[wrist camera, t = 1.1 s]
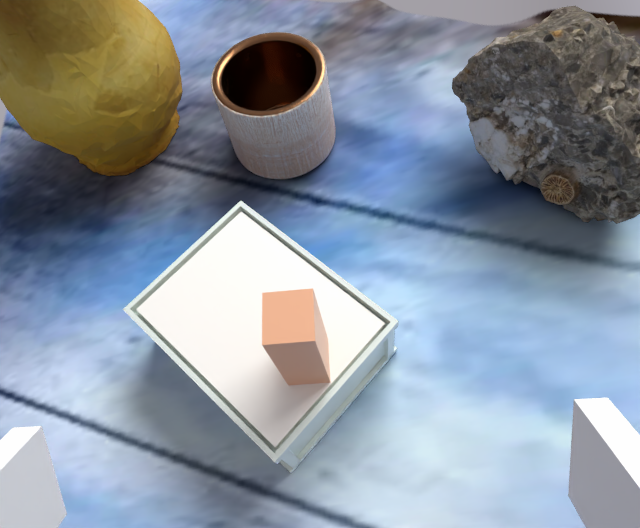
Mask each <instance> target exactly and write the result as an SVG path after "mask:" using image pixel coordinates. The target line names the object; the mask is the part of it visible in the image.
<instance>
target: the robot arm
mask: <svg viewBox="0 0 640 528" xmlns="http://www.w3.org/2000/svg"><path fill="white" fill-rule="evenodd" d="M568 496H569V498H570V500H571V501H572V503H573V505H574V507H575V509H576V511H577V512H578V514H579V516H580V518H581V520H582V521H583V523H584V525H585V527H586V528H640V435H639V434H638V432H637V431H636V430H635V429H634V428H633V427H632V426H631V424H630V423H629V422H628V421H627V420H626V419H625V417H624V416H623V415H622V414H621V413H620V412H619V410H618V409H617V408H616V407H615V406H614V405H613V403H612V402H611V401H610V400H609V399H608V398H593V399H574V407H573V424H572V441H571V458H570V476H569V493H568ZM66 515H67V513H66V509H65V506H64V502H63V499H62V495H61V492H60V488H59V485H58V481H57V478H56V474H55V471H54V467H53V464H52V460H51V457H50V453H49V450H48V446H47V443H46V439H45V436H44V432H43V429H42V426H35V427H15V428H12V429H11V430H10V431H9V432H8V433H7V434H6V435H5V436H4V437H3V438H2V439H1V440H0V528H58V527H59V525H60V524H61V522H62V521H63V519H64V518H65V516H66Z"/></svg>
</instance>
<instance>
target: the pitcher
mask: <svg viewBox="0 0 640 528" xmlns="http://www.w3.org/2000/svg"><path fill="white" fill-rule="evenodd" d="M181 96H182V83H181V76H180V62H179V59H178V57H177V54H176V51H175V48H174V45H173V43H172V40H171V38H170V35H169V33H168V32H167V30H166V28H165V27H164V26H163V24H162V23H161V22H160V21H159V20H158V19H157V18H156V17H155V15H154V14H153V13H152V12H151V11H150V10H149V9H148V8H147V7H145V6H144V5H143V4H142V3H141V2H139V1H138V0H0V98H1V100H2V101H3V103H4V105H5V106H6V108H7V110H8V111H9V112H10V113H11V114H12V115H13V116H14V118H15V119H16V120H17V122H18V123H19V124H20V126H21V127H22V128H23V129H24V130H25V131H26V132H27V133H28V134H29V135H30V137H31V138H32V139H33V140H36V141H40V142H43V143H45V144H48V145H50V146H53V147H55V148H57V149H59V150H61V151H62V152H64V153H67V154H71V155H74V156H75V157H77V158H78V159H79V163H83V164H84V165H86V166H87V168H89V169H91V170H92V171H93V172H97V173H98V174H102V175H106V176H111V175H113V176H118V175H120V176H122V175H128V174H129V173H132V172H134V171H135V170H136V169H139V168H140V167H142V166H145V165H146V164H148V163H150V161H152V160H153V159H154V158H156V157H157V156H158V155H159V153H162V152H163V151H164V150H166V148H167V146H168V144H169V143H170V141H171V138H172V137H173V135H174V134H175V133H176V129H177V128H178V127H179V126H178V123H179V122H178V121H179V119H180V118H179V117H180V116H178V113H177V110H176V109H177V106H178V103H179V101H180V100H181Z"/></svg>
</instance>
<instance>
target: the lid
mask: <svg viewBox="0 0 640 528" xmlns="http://www.w3.org/2000/svg"><path fill="white" fill-rule="evenodd" d="M136 310H137V311H138V312H139V313H140V314H141V315H142V316H143V317H144V318H145V319H146V320H147V321H148V322H149V323H150V324H151V325H152V326H153V327H154V328H155V329H156V330H157V331H158V332H159V333H161V334H162V335H163V336H164V337H165V338H166V339H167V340H168V341H169V342H170V343H171V344H172V345H173V346H174V347H175V348H176V349H177V350H178V351H179V352H180V353H181V354H182V355H183V356H184V357H185V358H186V359H187V360H188V361H189V362H190V363H191V364H192V365H193V366H194V367H195V368H196V369H197V370H198V371H199V372H200V373H201V374H202V375H203V376H204V377H205V378H206V379H207V380H208V381H209V382H210V383H211V384H212V385H213V386H214V387H215V388H216V389H217V390H218V391H219V392H220V393H221V394H222V395H223V396H224V397H225V398H226V399H227V400H228V401H229V402H230V403H231V404H232V405H233V406H234V407H235V408H236V409H237V410H238V411H239V412H240V413H241V414H242V415H243V416H244V417H245V418H246V419H247V420H248V421H249V422H250V423H251V424H252V425H253V426H254V427H255V428H256V429H257V430H258V431H259V432H260V433H261V434H262V435H263V436H264V437H265V438H266V439H267V440H268V441H269V442H270V443H271V444H272V445H273V446H274V447H275V448H277V449H278V448H279V446H280V445H281V444H282V443H283V442H284V441H285V440H286V438H287V437H288V436H289V435H290V434H291V433H292V432H293V431H294V429H295V428H296V427H297V426H298V425H299V424H300V423H301V421H302V420H303V419H304V418H305V417H306V416H307V415H308V414H309V412H310V411H311V410H312V409H313V408H314V407H315V406H316V405H317V403H318V402H319V401H320V400H321V399H322V398H323V397H324V395H325V394H326V393H327V392H328V391H329V390H330V389H331V388H332V386H333V385H334V384H335V383H336V382H337V381H338V380H339V378H340V377H341V376H342V375H343V374H344V373H345V372H346V371H347V369H348V368H349V367H350V366H351V365H352V364H353V363H354V361H355V360H356V359H357V358H358V357H359V356H360V355H361V354H362V352H363V351H364V350H365V349H366V348H367V347H368V346H369V344H370V343H371V342H372V341H373V340H374V339H375V338H376V337H377V335H378V334H379V333H380V332H381V331H382V330H383V329H384V328H385V323H384V322H383V321H381V320H380V319H379V318H377V317H376V316H375V315H374V314H372V313H371V312H370V311H368V310H367V309H366V308H365V307H363V306H362V305H361V304H359V303H358V302H357V301H356V300H354V299H353V298H352V297H350V296H349V295H348V294H347V293H345V292H344V291H343V290H341V289H340V288H339V287H338V286H336V285H335V284H334V283H332V282H331V281H330V280H329V279H327V278H326V277H325V276H323V275H322V274H321V273H320V272H318V271H317V270H316V269H314V268H313V267H312V266H311V265H309V264H308V263H307V262H305V261H304V260H303V259H302V258H300V257H299V256H298V255H296V254H295V253H294V252H293V251H291V250H290V249H289V248H287V247H286V246H285V245H284V244H282V243H281V242H280V241H278V240H277V239H276V238H275V237H273V236H272V235H271V234H269V233H268V232H267V231H266V230H264V229H263V228H262V227H260V226H259V225H258V224H257V223H255V222H254V221H253V220H251V219H250V218H249V217H248V216H246V215H245V214H244V213H242V212H240V213H239V214H238V215H237V216H236V217H235V218H234V219H232V220H231V221H230V222H229V223H228V224H227V225H226V226H225V227H224V228H223V229H222V230H221V231H220V232H218V233H217V234H216V235H215V236H214V237H213V238H212V239H211V240H210V241H209V242H208V243H207V244H206V245H205V246H203V247H202V248H201V249H200V250H199V251H198V252H197V253H196V254H195V255H194V256H193V257H192V258H191V259H190V260H188V261H187V262H186V263H185V264H184V265H183V266H182V267H181V268H180V269H179V270H178V271H177V272H176V273H175V274H173V275H172V276H171V277H170V278H169V279H168V280H167V281H166V282H165V283H164V284H163V285H162V286H161V287H160V288H158V289H157V290H156V291H155V292H154V293H153V294H152V295H151V296H150V297H149V298H148V299H147V300H146V301H145V302H143V303H142V304H141V305H140V306H139V307H138V308H137V309H136Z"/></svg>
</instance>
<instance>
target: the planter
mask: <svg viewBox="0 0 640 528" xmlns="http://www.w3.org/2000/svg"><path fill="white" fill-rule="evenodd" d="M211 87H212V91H213V94H214V97H215V100H216V102H217V105H218V107H219V110H220V113H221V115H222V118H223V121H224V123H225V126H226V129H227V131H228V134H229V137H230V140H231V142H232V145H233V148H234V150H235V153H236V155H237V157H238V159H239V160H240V162H241V163H242V164H243V165H244V167H245V168H247V169H248V170H249V171H251V172H252V173H254V174H256V175H258V176H261V177H264V178H269V179H290V178H294V177H298V176H301V175H304V174H306V173H308V172H310V171H312V170H313V169H315V168H316V167H318V166H319V165H320V164H321V163H322V162H323V161H324V160H325V159H326V158H327V157H328V155H329V154H330V152H331V150H332V148H333V145H334V141H335V122H334V116H333V109H332V103H331V96H330V89H329V82H328V75H327V68H326V62H325V58H324V56H323V54H322V52H321V51H320V49H319V48H318V47H317V46H316V45H315V44H314V43H312V42H311V41H310V40H308V39H306V38H304V37H301V36H299V35H295V34H291V33H283V32H273V33H265V34H260V35H256V36H253V37H250V38H247V39H245V40H243V41H241V42H239V43H237V44H236V45H234V46H233V47H231V48H230V49H229V50H228V51H226V52H225V53H224V54H223V55H222V57H221V58H220V59H219V60H218V62H217V64H216V65H215V67H214V70H213V73H212V77H211Z"/></svg>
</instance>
